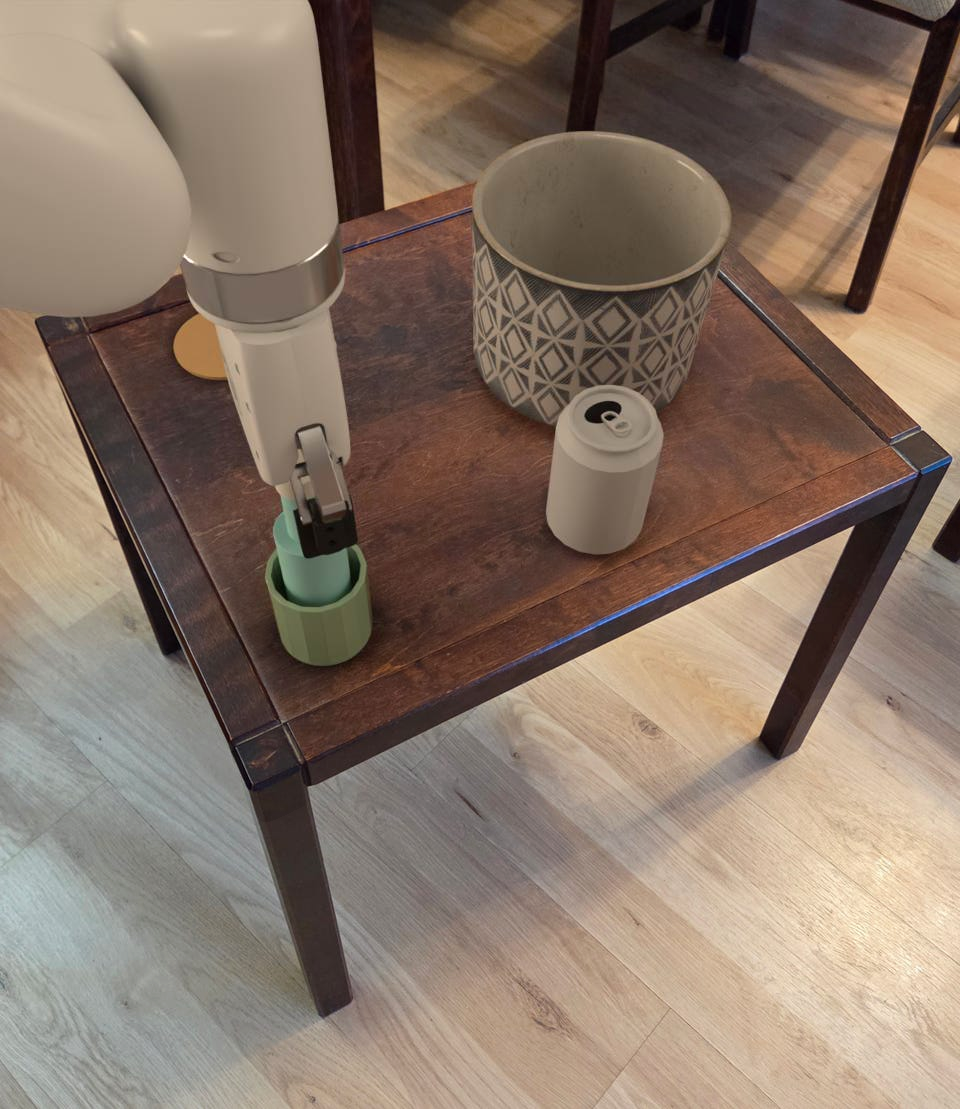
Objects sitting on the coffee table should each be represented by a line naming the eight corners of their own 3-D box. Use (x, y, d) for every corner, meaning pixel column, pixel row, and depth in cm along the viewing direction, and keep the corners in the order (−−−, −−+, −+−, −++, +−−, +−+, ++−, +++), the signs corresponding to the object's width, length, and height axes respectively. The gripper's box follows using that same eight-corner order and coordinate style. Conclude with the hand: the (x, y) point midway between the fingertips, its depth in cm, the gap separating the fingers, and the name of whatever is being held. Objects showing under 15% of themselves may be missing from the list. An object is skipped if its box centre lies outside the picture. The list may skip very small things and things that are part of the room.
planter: (468, 448, 86) (472, 287, 72) (468, 291, 97) (471, 128, 84) (704, 450, 86) (750, 291, 73) (676, 294, 97) (712, 132, 84)
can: (603, 471, 85) (623, 361, 75) (661, 535, 81) (690, 428, 71) (526, 509, 82) (536, 400, 72) (582, 576, 78) (601, 472, 69)
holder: (293, 678, 73) (280, 624, 67) (269, 603, 76) (254, 546, 71) (384, 649, 74) (378, 594, 69) (356, 577, 78) (349, 519, 72)
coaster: (186, 391, 89) (185, 387, 88) (165, 322, 94) (164, 319, 93) (290, 365, 91) (289, 362, 90) (264, 300, 96) (263, 296, 95)
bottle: (303, 656, 73) (269, 502, 60) (287, 606, 76) (250, 447, 62) (364, 637, 74) (344, 482, 60) (345, 588, 77) (323, 429, 63)
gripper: (146, 167, 53) (213, 404, 67) (224, 401, 44) (283, 620, 58) (291, 136, 55) (327, 374, 69) (396, 357, 45) (413, 580, 59)
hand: (307, 486), depth 63 cm, fingers open, 9 cm apart
